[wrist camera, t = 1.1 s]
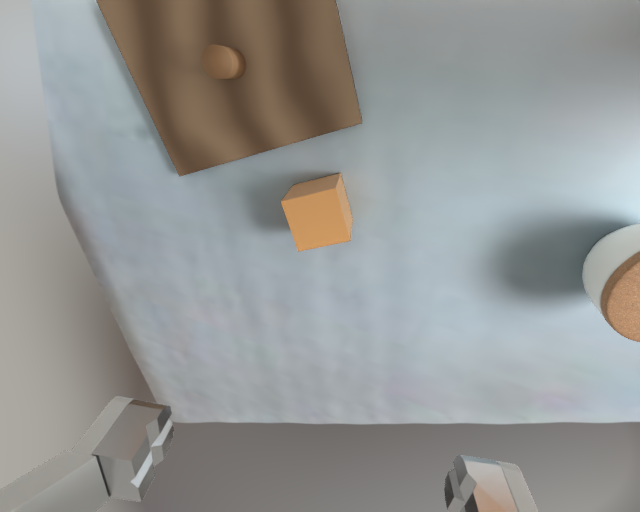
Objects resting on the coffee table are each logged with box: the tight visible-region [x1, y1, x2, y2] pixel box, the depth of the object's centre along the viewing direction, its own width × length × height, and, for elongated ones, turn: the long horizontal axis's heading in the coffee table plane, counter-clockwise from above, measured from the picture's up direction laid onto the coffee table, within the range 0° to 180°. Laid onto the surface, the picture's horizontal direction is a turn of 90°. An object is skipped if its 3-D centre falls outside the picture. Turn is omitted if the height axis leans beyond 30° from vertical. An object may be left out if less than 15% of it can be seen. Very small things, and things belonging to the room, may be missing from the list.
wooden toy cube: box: [281, 173, 353, 251], centre depth 34 cm, size 5×5×6 cm
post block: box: [96, 0, 362, 176], centre depth 29 cm, size 20×16×5 cm
